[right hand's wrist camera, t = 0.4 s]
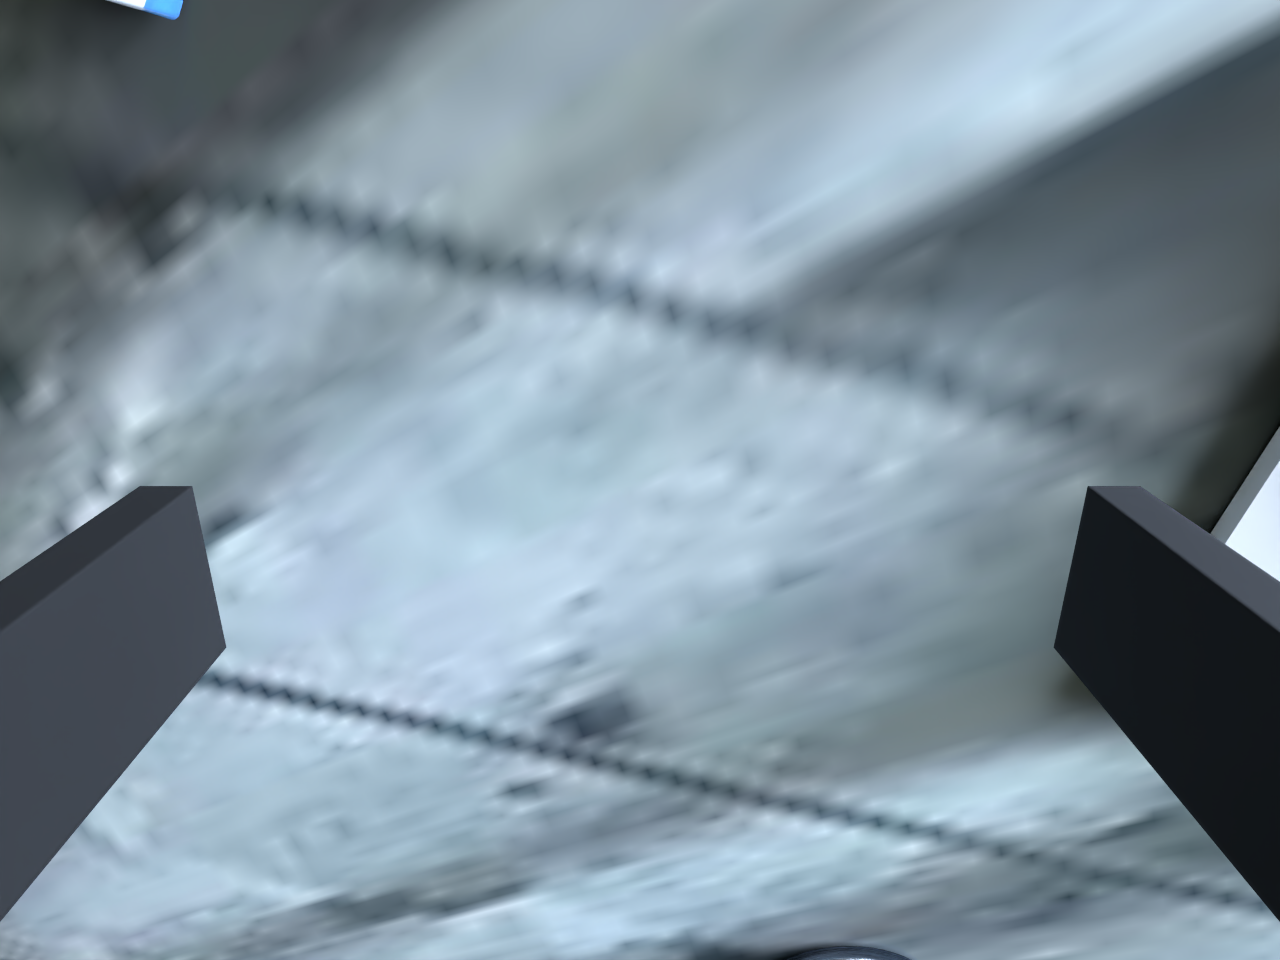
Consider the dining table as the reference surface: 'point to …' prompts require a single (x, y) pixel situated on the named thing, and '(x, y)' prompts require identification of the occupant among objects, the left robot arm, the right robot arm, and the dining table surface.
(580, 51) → the dining table surface
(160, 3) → the ink box
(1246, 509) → the relief map
